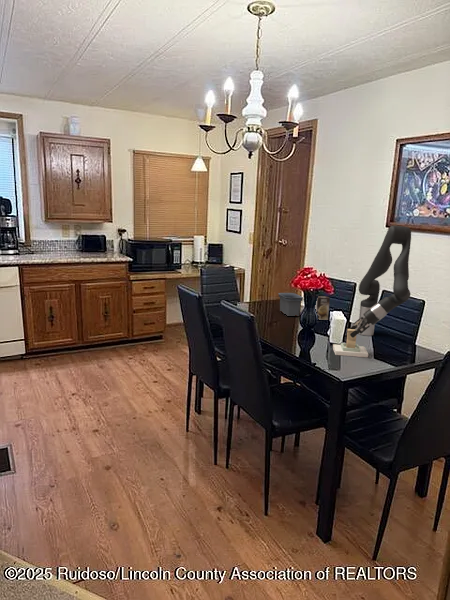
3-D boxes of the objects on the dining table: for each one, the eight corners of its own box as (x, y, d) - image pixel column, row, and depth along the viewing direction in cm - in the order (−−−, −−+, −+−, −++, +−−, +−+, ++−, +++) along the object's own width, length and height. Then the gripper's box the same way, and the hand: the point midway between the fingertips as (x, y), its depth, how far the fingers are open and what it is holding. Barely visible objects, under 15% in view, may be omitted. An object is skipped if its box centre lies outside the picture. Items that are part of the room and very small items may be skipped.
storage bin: (275, 311, 310) (276, 292, 307) (295, 311, 313) (296, 292, 310) (285, 318, 289) (286, 297, 287) (306, 318, 293) (307, 297, 290)
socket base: (332, 347, 225) (333, 341, 225) (363, 350, 223) (364, 343, 223) (335, 354, 214) (335, 348, 213) (367, 357, 212) (368, 350, 211)
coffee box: (316, 321, 285) (318, 297, 282) (311, 318, 291) (313, 295, 288) (328, 320, 287) (330, 297, 284) (323, 318, 293) (325, 295, 290)
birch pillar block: (345, 347, 220) (347, 328, 218) (353, 348, 220) (355, 329, 218) (346, 349, 216) (348, 330, 215) (354, 350, 216) (356, 331, 214)
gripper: (367, 305, 220) (343, 325, 224) (373, 311, 206) (346, 332, 210) (377, 316, 220) (352, 335, 224) (383, 322, 206) (356, 343, 210)
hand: (349, 334), depth 217 cm, fingers open, 8 cm apart
